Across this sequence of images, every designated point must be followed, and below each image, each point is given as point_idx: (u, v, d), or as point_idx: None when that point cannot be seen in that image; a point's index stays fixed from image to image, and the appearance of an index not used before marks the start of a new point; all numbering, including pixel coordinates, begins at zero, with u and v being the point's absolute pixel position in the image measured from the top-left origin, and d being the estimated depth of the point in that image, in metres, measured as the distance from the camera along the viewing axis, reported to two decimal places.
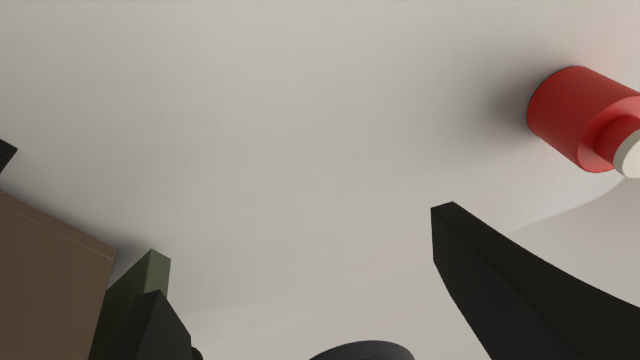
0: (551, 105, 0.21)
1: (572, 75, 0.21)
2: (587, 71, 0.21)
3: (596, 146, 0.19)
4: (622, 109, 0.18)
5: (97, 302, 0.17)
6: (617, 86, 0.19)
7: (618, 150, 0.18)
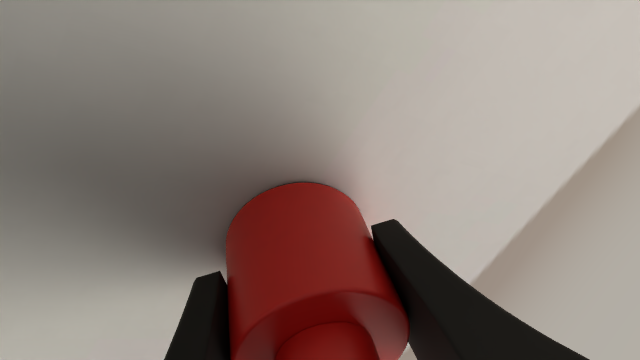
0: (249, 238, 0.10)
1: (310, 199, 0.11)
2: (340, 204, 0.11)
3: None
4: (341, 309, 0.09)
5: None
6: (359, 257, 0.09)
7: None
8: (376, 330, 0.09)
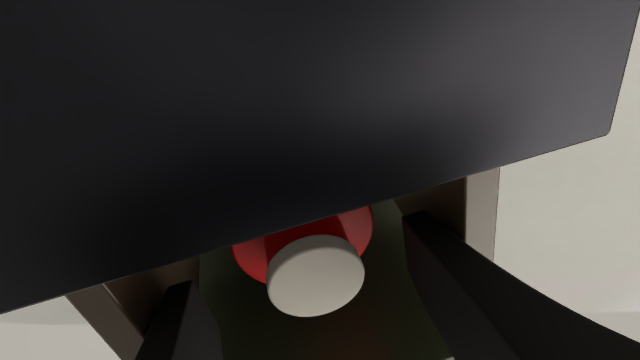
0: None
1: None
2: None
3: (265, 239, 0.11)
4: None
5: None
6: None
7: (275, 257, 0.10)
8: (346, 218, 0.12)
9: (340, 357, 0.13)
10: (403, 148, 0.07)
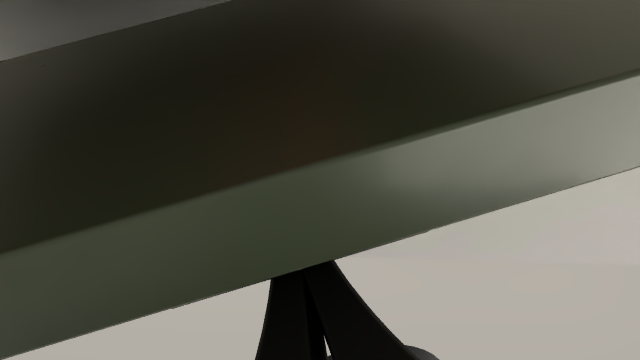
0: None
1: None
2: None
3: None
4: None
5: None
6: None
7: None
8: None
9: (259, 123, 0.04)
10: None
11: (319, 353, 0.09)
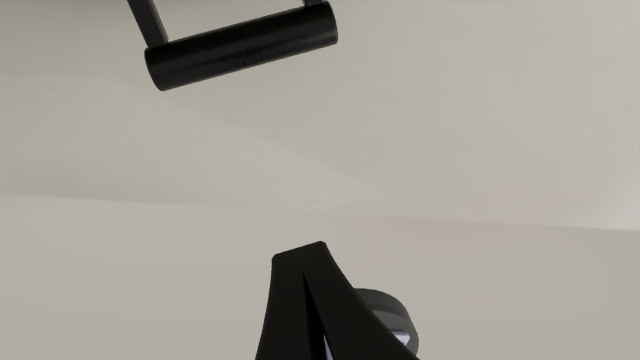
0: None
1: None
2: None
3: None
4: None
5: None
6: None
7: None
8: None
9: None
10: None
11: (319, 353, 0.09)
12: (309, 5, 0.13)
